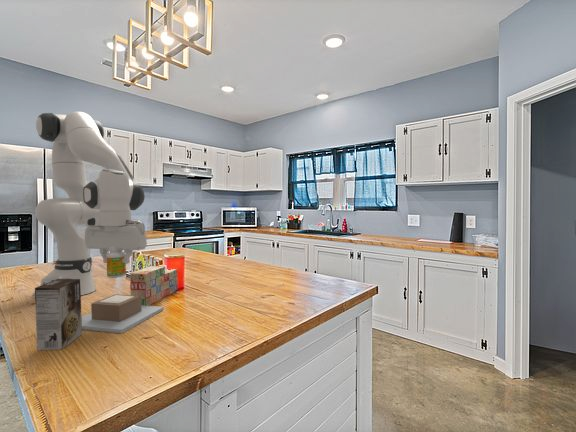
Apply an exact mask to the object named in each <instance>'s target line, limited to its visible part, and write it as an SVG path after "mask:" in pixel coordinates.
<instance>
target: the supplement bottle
mask: <svg viewBox="0 0 576 432" xmlns="http://www.w3.org/2000/svg"><path fill="white" fill-rule="evenodd" d="M107 253H108V254H107V263H106V277H107V278H109V279H118V278H122V277H125V276H126V275H127V266H126V265H127V264H122V258H124V257H125V254H126V253H124V251H123V250H117V249H115V248H114V247H109V249H108V252H107Z"/></svg>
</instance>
